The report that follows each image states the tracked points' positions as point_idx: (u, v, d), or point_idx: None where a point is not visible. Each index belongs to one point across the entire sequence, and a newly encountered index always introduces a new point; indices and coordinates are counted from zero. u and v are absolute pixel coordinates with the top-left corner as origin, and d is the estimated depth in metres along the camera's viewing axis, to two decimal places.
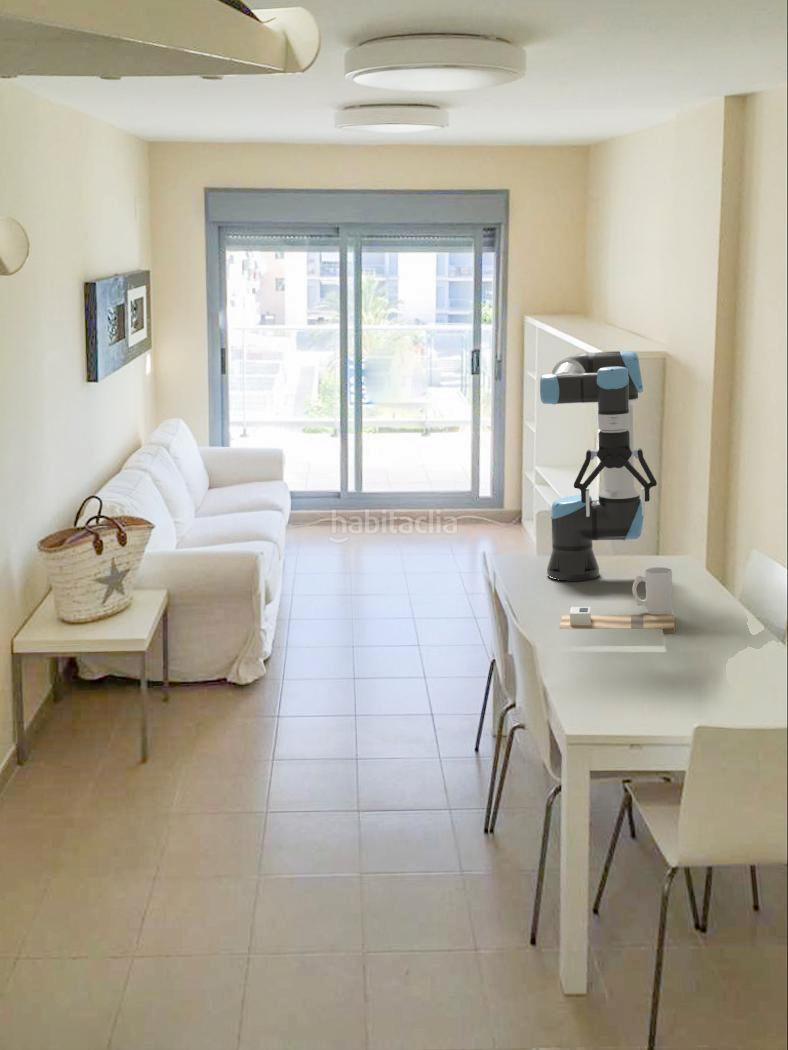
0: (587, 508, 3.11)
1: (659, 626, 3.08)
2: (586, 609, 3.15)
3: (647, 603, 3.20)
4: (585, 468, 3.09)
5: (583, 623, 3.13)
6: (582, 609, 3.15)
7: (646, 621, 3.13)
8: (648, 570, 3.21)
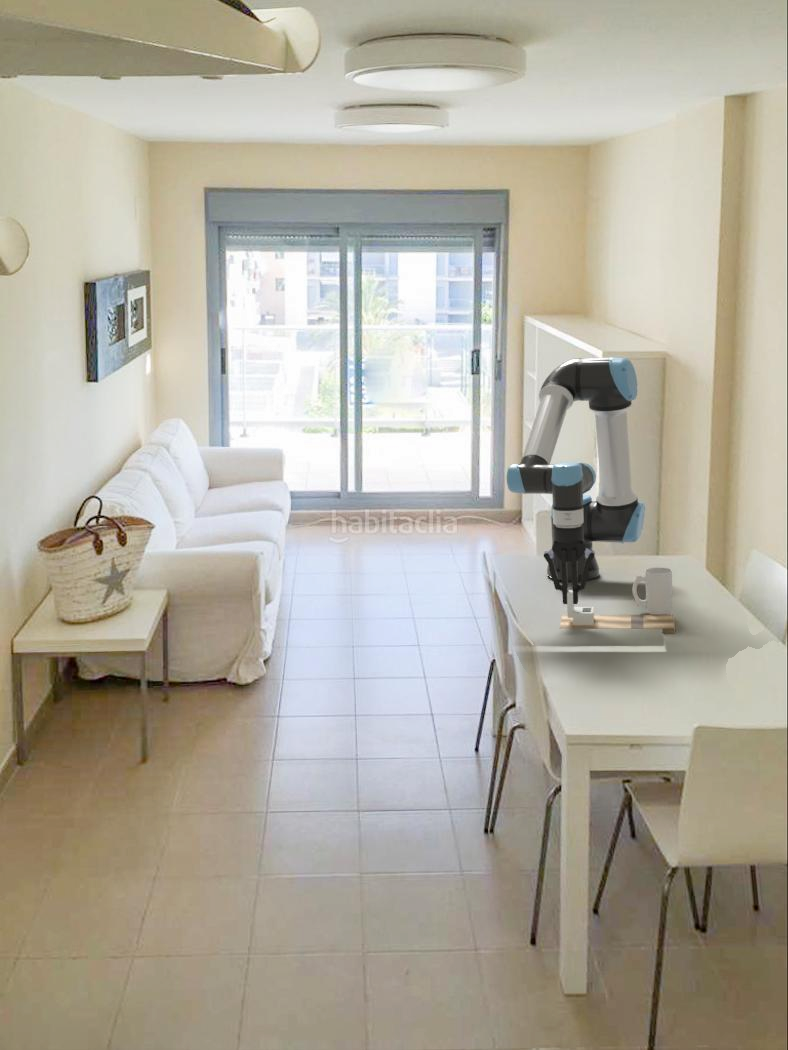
0: (568, 609, 3.14)
1: (659, 626, 3.08)
2: (589, 609, 3.15)
3: (647, 603, 3.20)
4: (553, 568, 3.13)
5: (586, 623, 3.13)
6: (585, 609, 3.15)
7: (646, 621, 3.13)
8: (648, 570, 3.21)
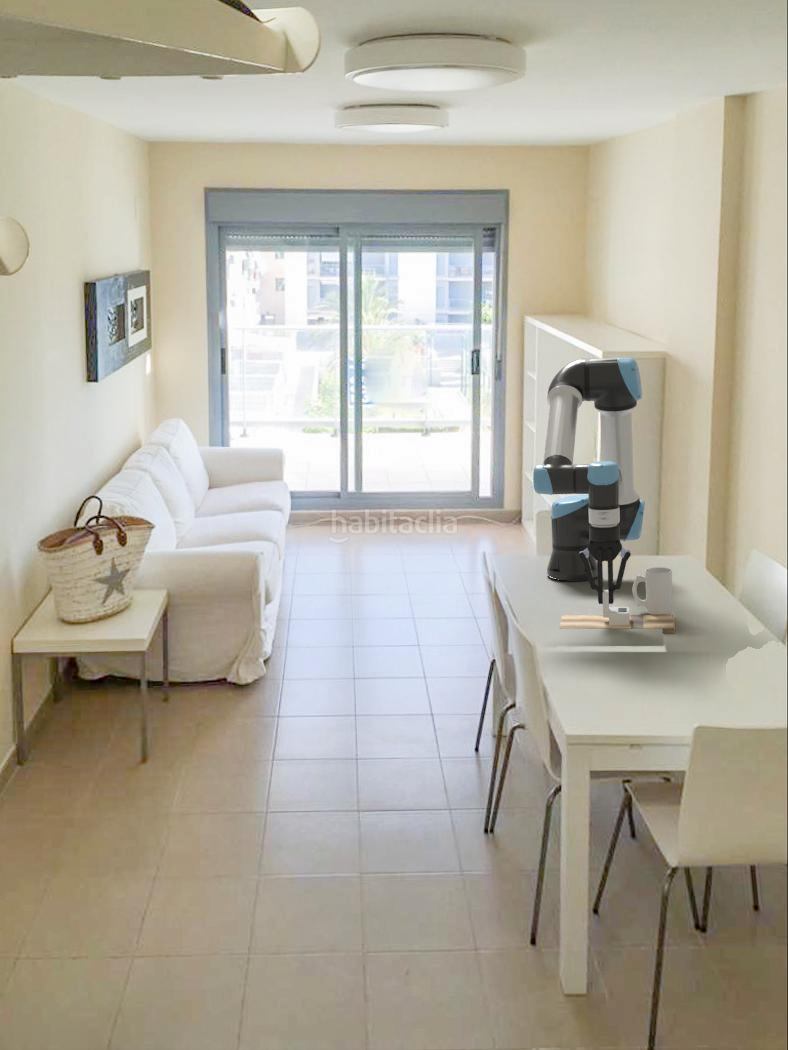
0: (604, 609, 3.13)
1: (659, 626, 3.08)
2: (625, 609, 3.13)
3: (647, 603, 3.20)
4: (588, 568, 3.11)
5: (622, 623, 3.11)
6: (621, 609, 3.13)
7: (646, 621, 3.13)
8: (648, 570, 3.21)
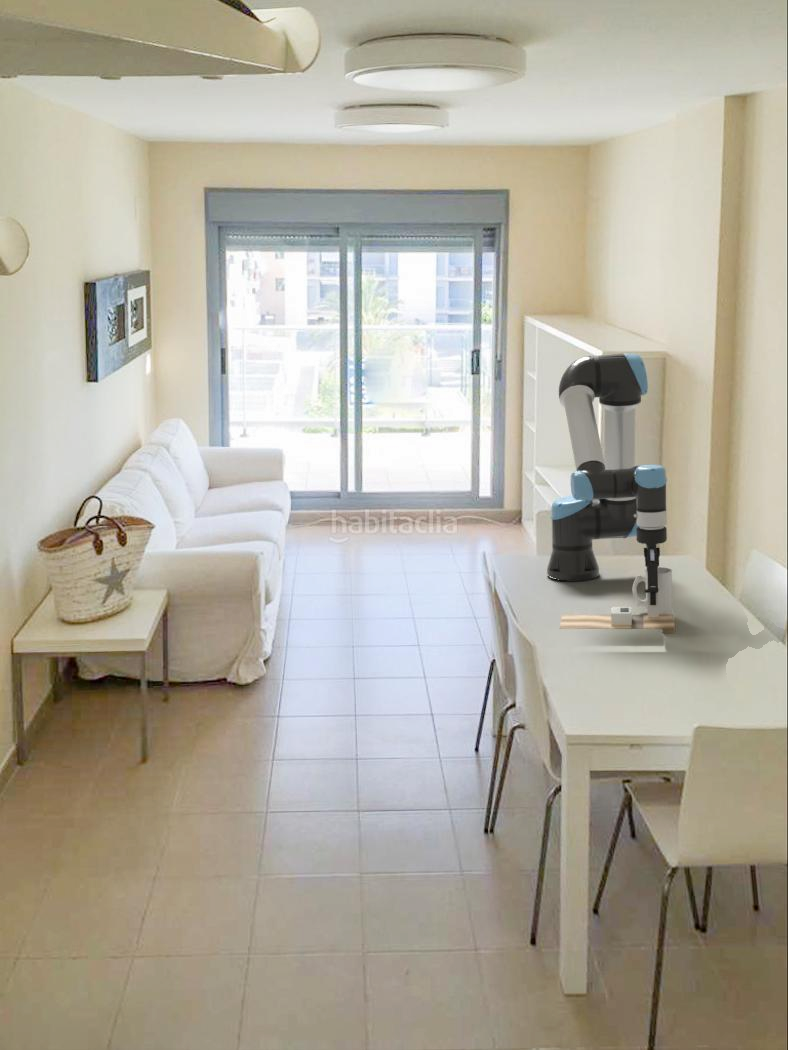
0: None
1: (659, 626, 3.08)
2: (627, 609, 3.13)
3: None
4: None
5: (624, 623, 3.11)
6: (623, 609, 3.13)
7: (646, 621, 3.13)
8: None
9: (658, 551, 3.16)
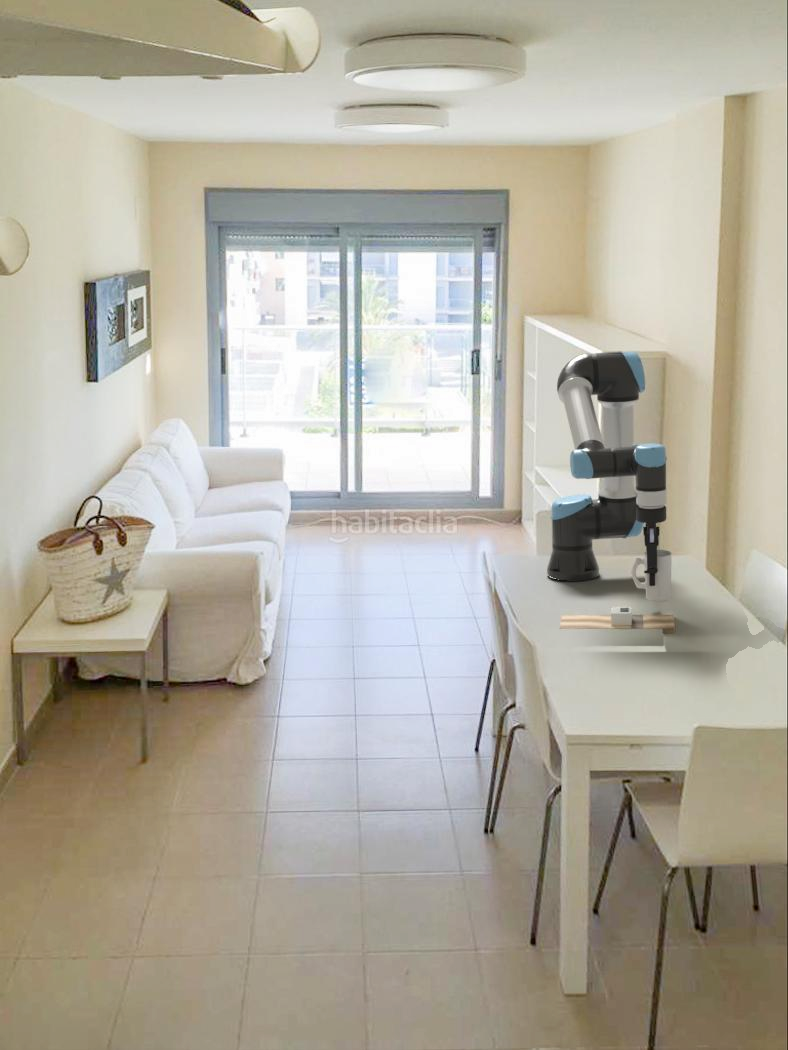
0: None
1: (659, 626, 3.08)
2: (627, 609, 3.13)
3: (646, 586, 3.19)
4: None
5: (624, 623, 3.11)
6: (623, 609, 3.13)
7: (646, 621, 3.13)
8: None
9: (658, 531, 3.15)
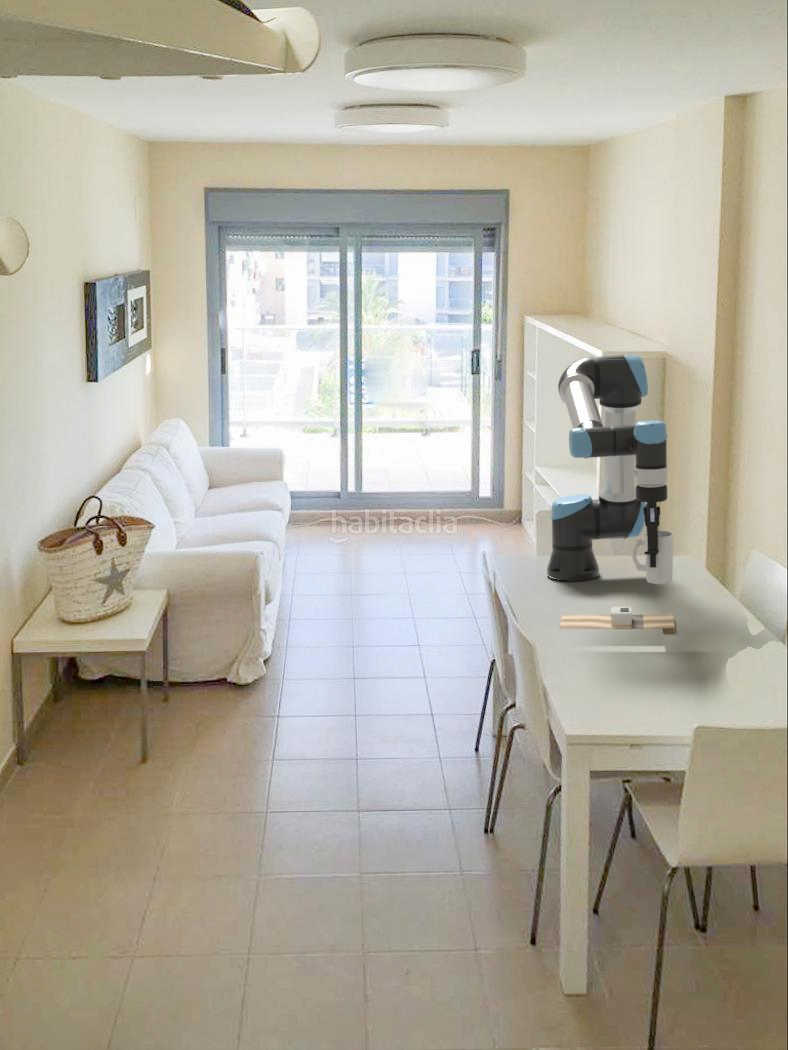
0: None
1: (659, 626, 3.08)
2: (627, 609, 3.13)
3: None
4: None
5: (624, 623, 3.11)
6: (623, 609, 3.13)
7: (646, 621, 3.13)
8: None
9: (658, 510, 3.05)
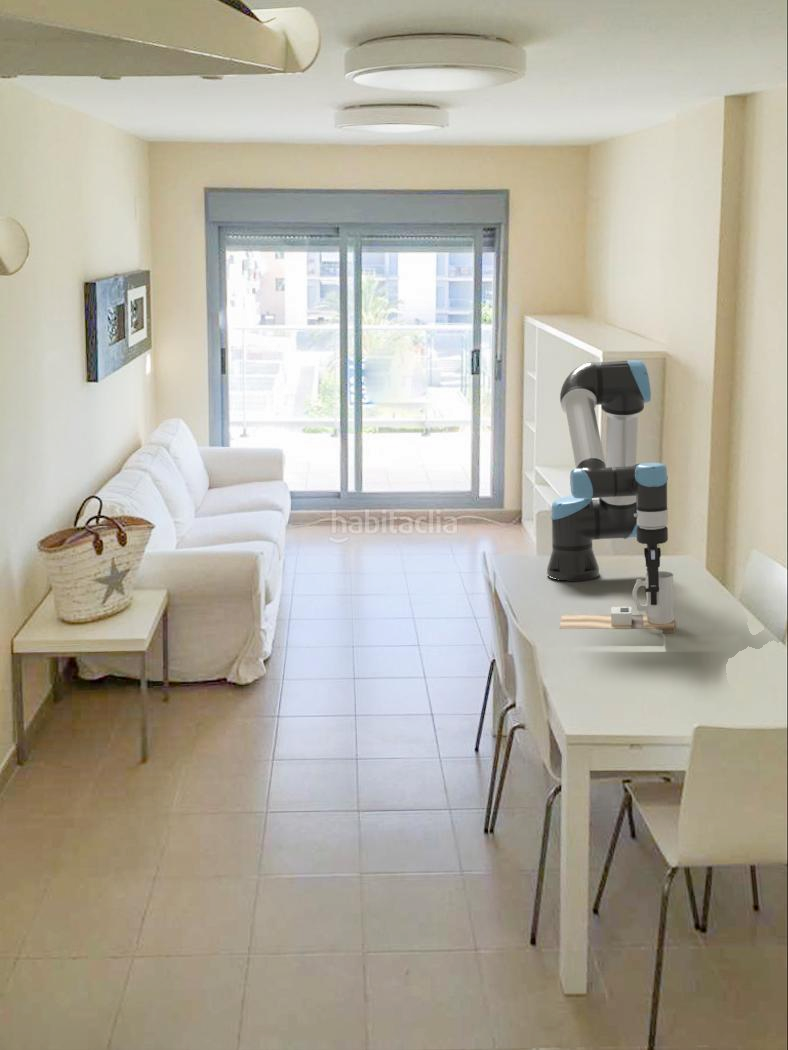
0: None
1: (659, 626, 3.08)
2: (627, 609, 3.13)
3: None
4: None
5: (624, 623, 3.11)
6: (623, 609, 3.13)
7: (646, 621, 3.13)
8: None
9: (659, 551, 3.07)
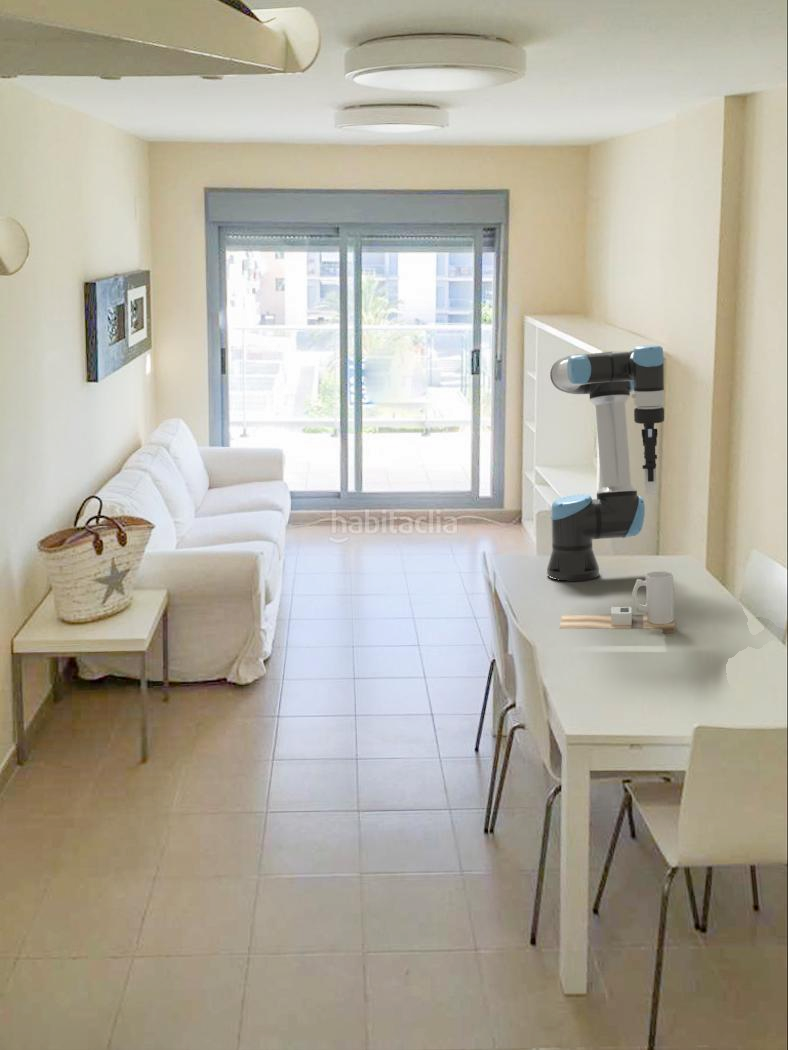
0: (644, 476, 3.29)
1: (659, 626, 3.08)
2: (627, 609, 3.13)
3: (647, 609, 3.11)
4: None
5: (624, 623, 3.11)
6: (623, 609, 3.13)
7: (646, 621, 3.13)
8: (649, 574, 3.12)
9: (656, 431, 3.18)
